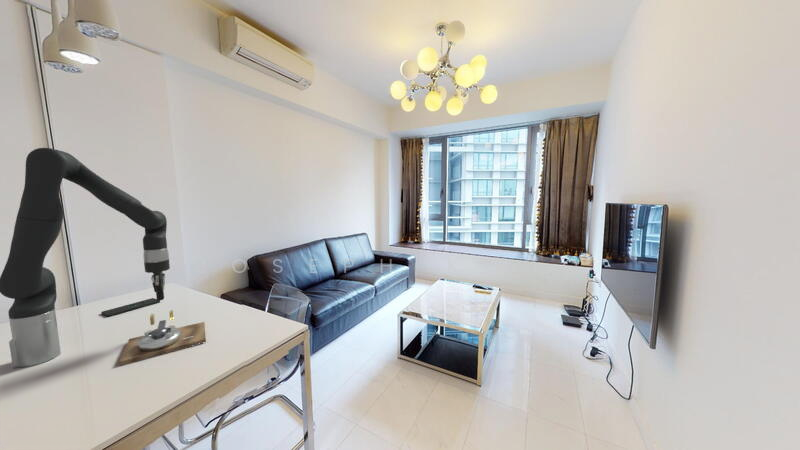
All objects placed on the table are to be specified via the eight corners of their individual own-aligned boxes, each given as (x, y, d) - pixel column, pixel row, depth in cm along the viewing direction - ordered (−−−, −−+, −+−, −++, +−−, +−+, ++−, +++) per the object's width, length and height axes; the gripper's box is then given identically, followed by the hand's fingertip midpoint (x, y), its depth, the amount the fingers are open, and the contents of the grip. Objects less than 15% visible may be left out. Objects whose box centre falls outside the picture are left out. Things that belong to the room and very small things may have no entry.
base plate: (119, 365, 89) (118, 361, 88) (129, 342, 103) (129, 338, 102) (205, 342, 104) (205, 338, 103) (204, 324, 118) (204, 321, 117)
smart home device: (160, 300, 141) (107, 315, 123) (160, 303, 141) (108, 318, 123) (152, 297, 144) (100, 311, 126) (153, 300, 144) (101, 314, 126)
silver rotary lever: (135, 355, 92) (133, 336, 91) (144, 332, 107) (142, 316, 106) (179, 343, 99) (178, 326, 98) (181, 324, 114) (180, 308, 114)
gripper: (146, 257, 108) (150, 296, 110) (141, 264, 98) (145, 307, 100) (170, 255, 113) (173, 293, 115) (167, 261, 103) (171, 302, 104)
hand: (160, 299), depth 107 cm, fingers closed
